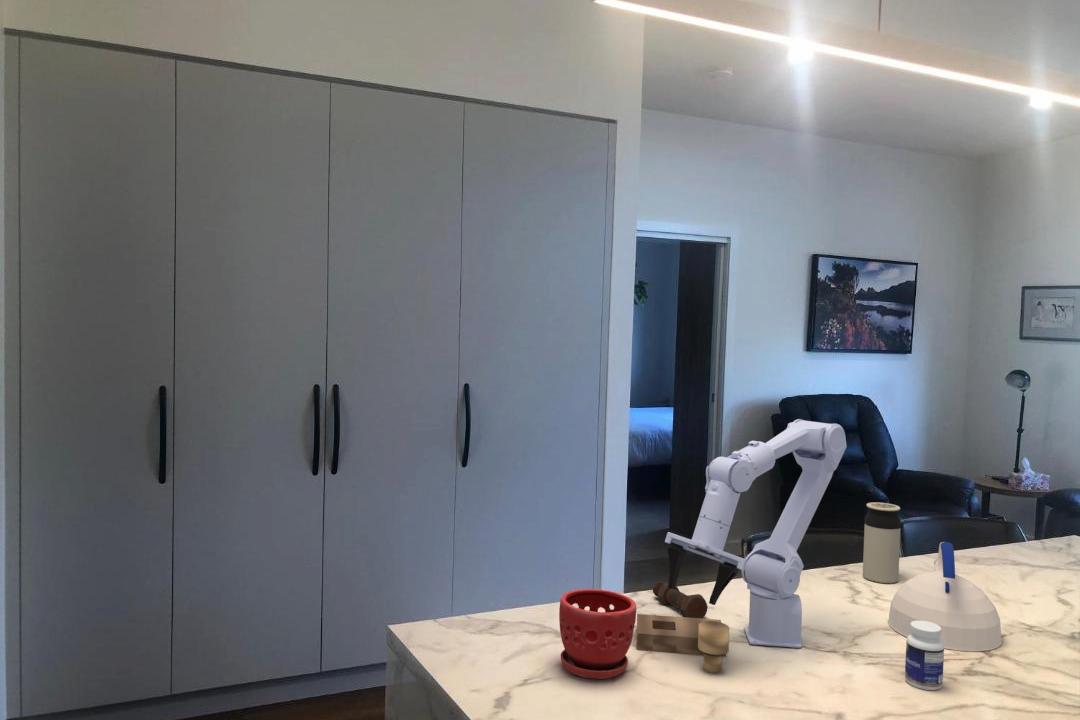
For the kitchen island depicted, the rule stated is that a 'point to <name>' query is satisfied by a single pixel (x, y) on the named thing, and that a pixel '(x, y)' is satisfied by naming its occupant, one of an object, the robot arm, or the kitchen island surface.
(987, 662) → the kitchen island surface
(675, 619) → the brown flat rectangular block
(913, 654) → the pill bottle
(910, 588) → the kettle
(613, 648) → the plant pot
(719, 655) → the oak peg
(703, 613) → the bolt
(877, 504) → the travel mug
